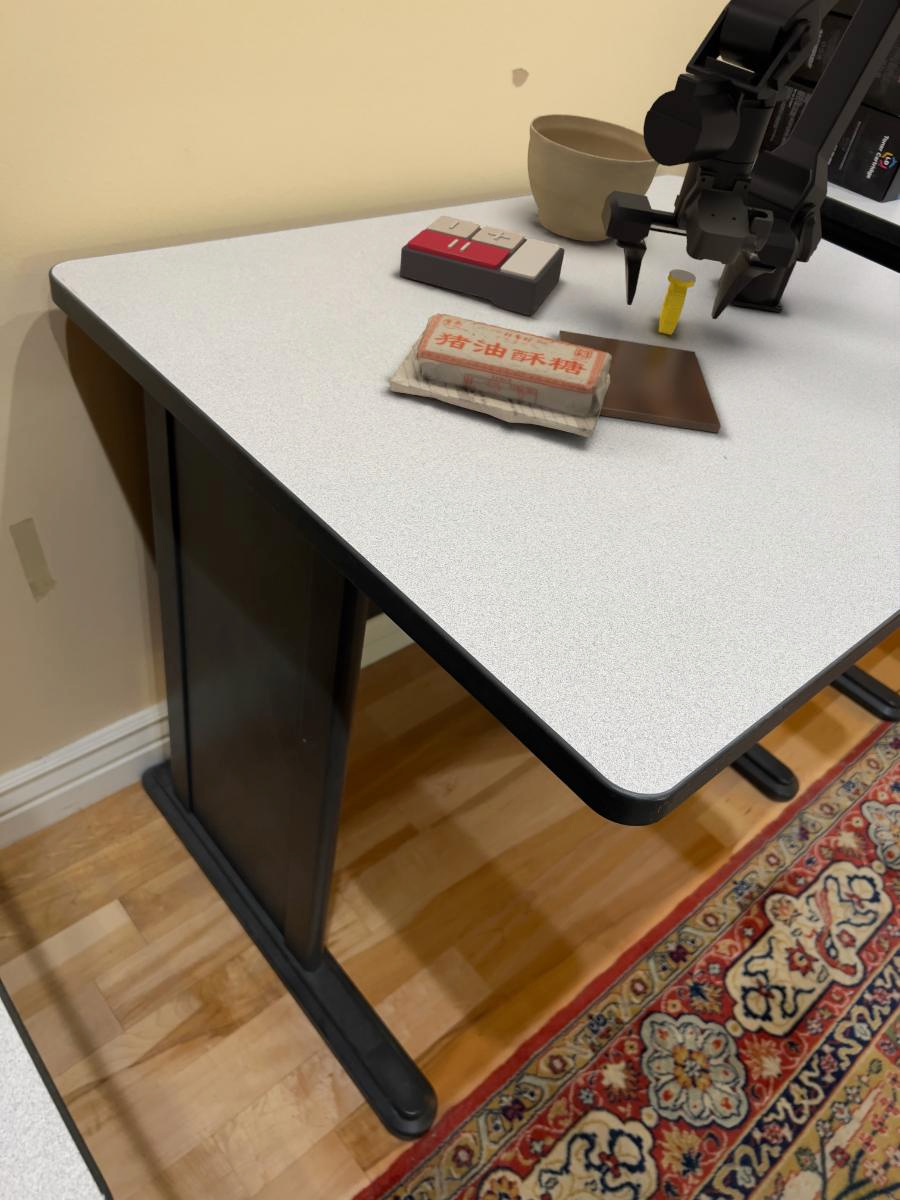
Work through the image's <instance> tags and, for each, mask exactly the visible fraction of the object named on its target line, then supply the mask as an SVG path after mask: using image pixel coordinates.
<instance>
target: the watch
mask: <svg viewBox="0 0 900 1200" xmlns="http://www.w3.org/2000/svg"><path fill="white" fill-rule="evenodd" d="M667 280H668V282H669V285H668V288H667V291H666V294H665V296H664V300H663V303H662V307H661V311H660V316H659V319H658V320H659V323H658V333H660V334H665V335H669V336H671V335H672V334H673V333H674V332H675V330H676V327H677V325H678V322H679V320H680V317H681V314H682V311H683V307H684V305H685V300H686V296H687V293H688V289H690V288H693V287H694V286H695V283H696V280H697V277H696V275H695V274H694V273H692V272H690V271H689V270H684V269H679V268H677V269H676V268H675V269H671V270H670V271H669V273H668V276H667Z"/></svg>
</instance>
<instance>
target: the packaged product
mask: <svg viewBox="0 0 900 1200" xmlns="http://www.w3.org/2000/svg"><path fill="white" fill-rule="evenodd" d="M611 360H612V355H610V354H609V353H607V352H603V351H599V350H594V349H593V348H588V347H584V346H580V345H575V344H570V343H567V342H563V341H559V340H558V339H554V338H550V337H546V336H541V335H536V334H533V333H529V332H523V331H520V330H515V329H511V328H506V327H502V326H498V325H495V324H488V323H486V322H480V321H475V320H472V319H468V318H462V317H459V316H455V315H450V314H446V313H436V314H433V315H431V316H430V317H428V319H427V324H426V326H425V328H424V330H423V331H422V332H421V334H420V335H419V336H418V338H417V339H416V341H415V342H414V344H413V346H412V347H411V349H410V350H409V352H408V354H407V355H406V357H405V358H404V359H403V361H402V362H401V363H400V364H399V366H398V367H397V369H396V371H394V374H393V376H392V378H391V379H389V389H390V392H395V393H402V394H408V395H412V396H419V397H425V398H432V399H436V400H439V401H441V402H443V403H447V404H449V405H454V406H458V407H461V408H465V409H467V410H468V409H469V410H471V411H476V412H479V413H483V414H487V415H489V416H492V417H494V418H497V419H499V420H502V421H504V422H507V423H512V424H513V423H515V424H530V425H531V424H532V425H535V426H536V425H537V426H541V427H545V428H550V429H552V430H553V429H554V430H558V431H563V432H567V433H572V434H574V435H578V436H582V437H585V438H588V439H590V438H591V436H592V435H593V433H594V431H595V427H596V425H597V423H598V420H599V418H600V416H601V415H600V411H601V408H602V404H603V401H604V397H605V394H606V392H607V389H608V387H609V384H610V375H609V374H608V372H609V369H610V363H611Z"/></svg>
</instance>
